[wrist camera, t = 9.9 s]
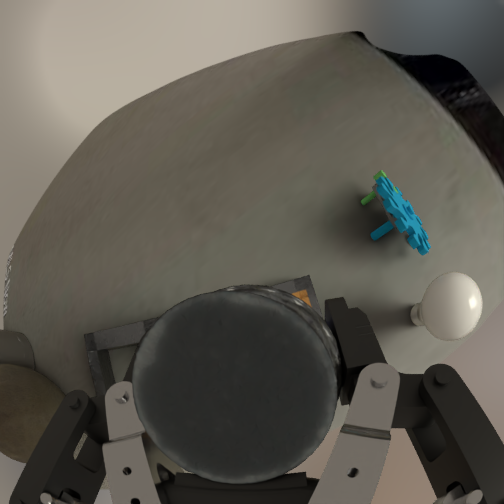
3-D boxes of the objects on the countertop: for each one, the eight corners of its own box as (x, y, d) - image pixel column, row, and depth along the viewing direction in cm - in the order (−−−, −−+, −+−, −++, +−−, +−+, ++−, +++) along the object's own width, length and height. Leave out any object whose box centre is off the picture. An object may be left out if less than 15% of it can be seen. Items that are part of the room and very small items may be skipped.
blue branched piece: (441, 253, 28) (418, 242, 22) (404, 276, 32) (369, 273, 26) (402, 181, 33) (367, 153, 27) (371, 205, 36) (329, 185, 30)
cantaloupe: (76, 358, 31) (-9, 354, 17) (106, 452, 26) (32, 483, 12) (25, 369, 31) (-44, 365, 17) (49, 449, 27) (-16, 464, 12)
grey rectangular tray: (116, 422, 28) (104, 426, 25) (95, 335, 32) (83, 334, 29) (338, 382, 27) (342, 386, 24) (307, 279, 31) (309, 274, 28)
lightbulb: (402, 281, 29) (448, 254, 19) (443, 296, 28) (498, 276, 17) (387, 334, 28) (434, 329, 17) (431, 347, 26) (486, 346, 16)
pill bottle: (201, 329, 17) (82, 305, 6) (294, 292, 17) (303, 212, 6) (237, 419, 15) (163, 517, 4) (332, 384, 15) (403, 453, 4)
